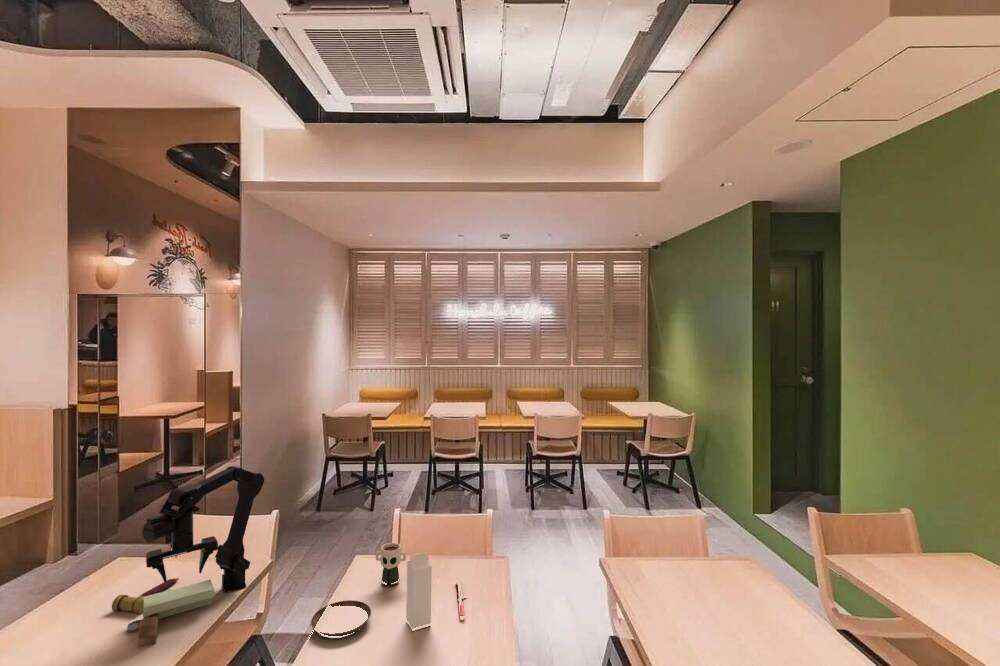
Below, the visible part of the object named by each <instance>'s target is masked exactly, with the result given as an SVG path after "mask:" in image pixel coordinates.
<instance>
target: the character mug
mask: <svg viewBox="0 0 1000 666" xmlns="http://www.w3.org/2000/svg"><path fill="white" fill-rule="evenodd" d="M379 555H380V557H379ZM401 556H402V557H401ZM406 560H407V552H406V551H402V546H401V544H400V543H398V542H387V543H385V544H383V545H381V547H380V551H376V552H375V561H380V565H381V566H382V567H383V569H382V575H381V582H382V581H383V582H385V583H387V584H390V583H394V582H396V581H398V579H399V580H400V573H399V565H400V564H401V562H405V561H406Z"/></svg>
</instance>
